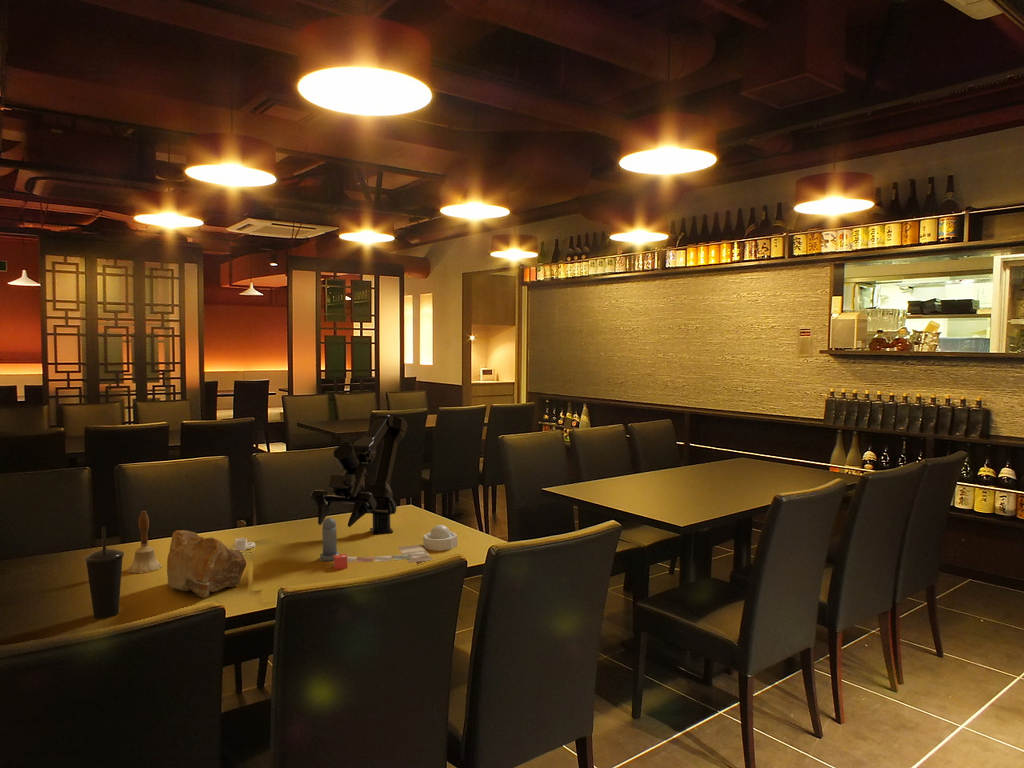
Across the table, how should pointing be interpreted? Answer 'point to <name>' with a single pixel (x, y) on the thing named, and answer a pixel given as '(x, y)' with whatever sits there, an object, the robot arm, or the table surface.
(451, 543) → the dome housing
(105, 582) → the drinking cup
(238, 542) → the teacup and saucer
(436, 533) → the dome button
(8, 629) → the table surface
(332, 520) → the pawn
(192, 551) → the rough brown rock
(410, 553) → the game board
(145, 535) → the hand bell
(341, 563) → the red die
